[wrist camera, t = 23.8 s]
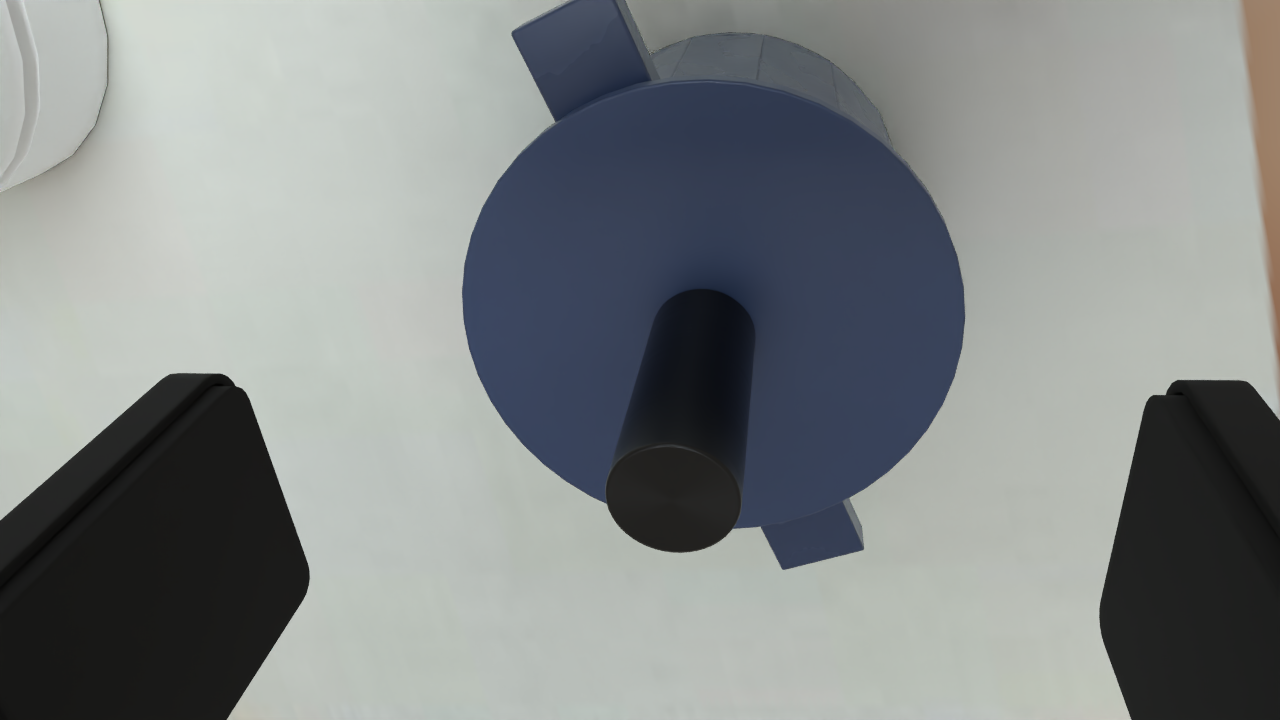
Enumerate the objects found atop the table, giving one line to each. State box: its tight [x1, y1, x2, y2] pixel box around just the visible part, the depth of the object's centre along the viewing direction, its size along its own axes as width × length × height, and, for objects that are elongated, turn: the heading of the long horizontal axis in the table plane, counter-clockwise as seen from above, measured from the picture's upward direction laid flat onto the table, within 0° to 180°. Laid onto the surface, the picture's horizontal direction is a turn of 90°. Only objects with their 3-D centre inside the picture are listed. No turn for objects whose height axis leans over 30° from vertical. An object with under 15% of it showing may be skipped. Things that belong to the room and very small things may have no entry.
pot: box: [512, 0, 893, 570], centre depth 26 cm, size 11×16×10 cm, turn 26°
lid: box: [462, 75, 965, 553], centre depth 19 cm, size 12×12×7 cm
